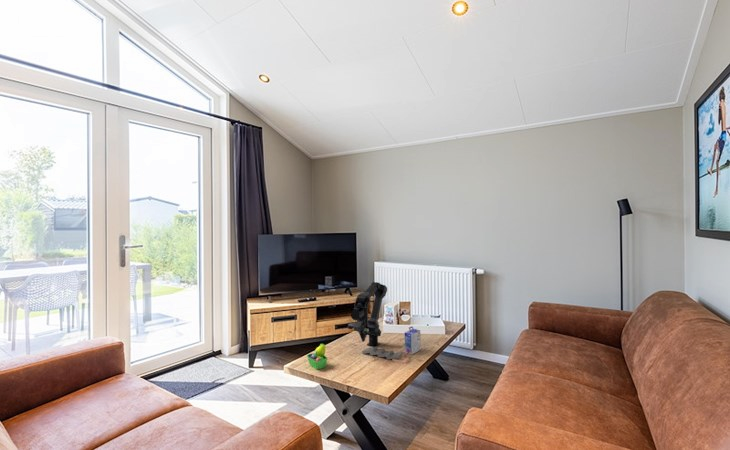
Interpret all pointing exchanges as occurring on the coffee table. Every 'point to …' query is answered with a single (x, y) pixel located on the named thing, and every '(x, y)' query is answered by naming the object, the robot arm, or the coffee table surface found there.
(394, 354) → the domino
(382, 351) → the domino
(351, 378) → the coffee table surface
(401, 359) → the domino
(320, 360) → the fruit basket
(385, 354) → the domino
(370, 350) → the domino
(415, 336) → the ink cartridge box
